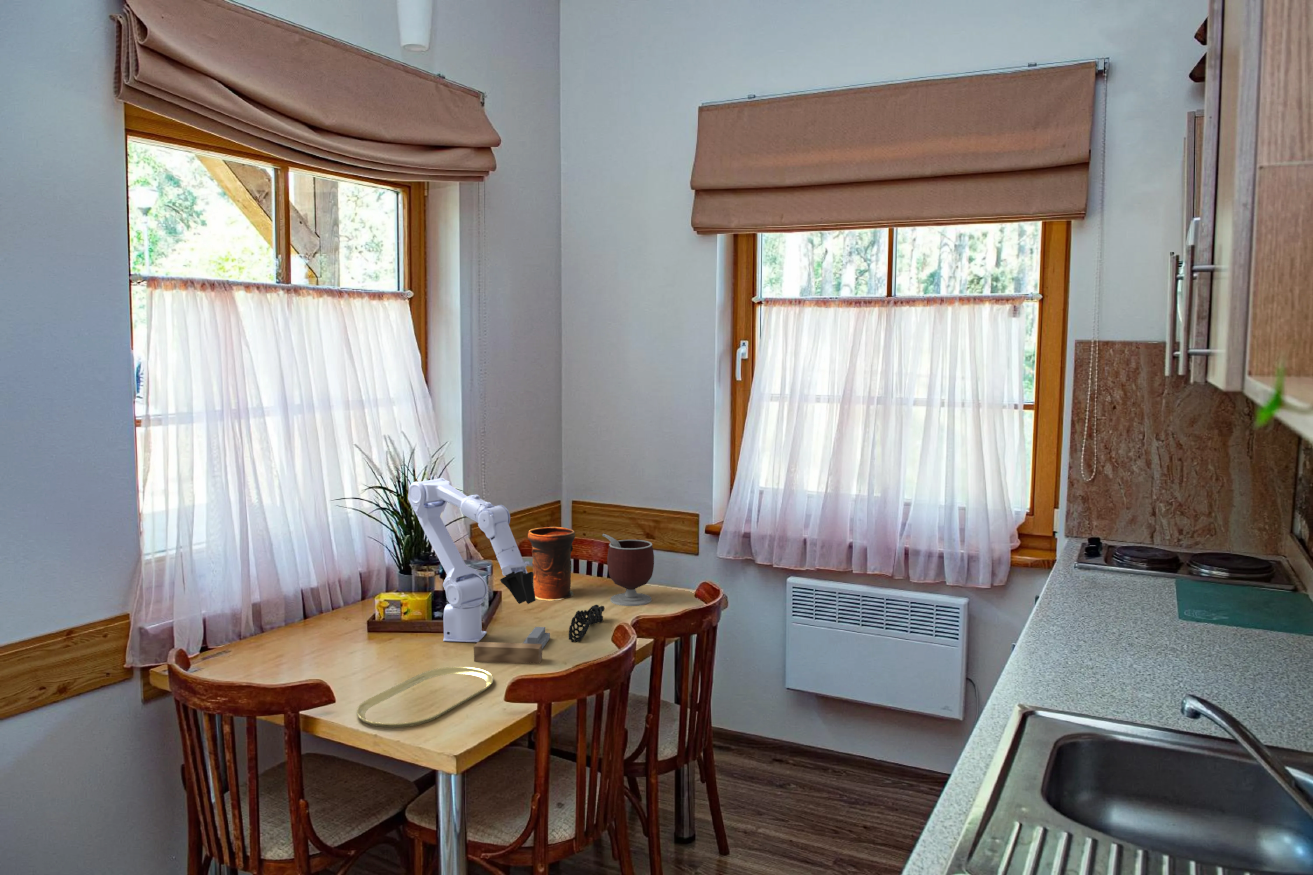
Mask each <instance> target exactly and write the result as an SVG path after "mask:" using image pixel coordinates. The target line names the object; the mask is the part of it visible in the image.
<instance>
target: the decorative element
mask: <svg viewBox="0 0 1313 875" xmlns="http://www.w3.org/2000/svg"><path fill="white" fill-rule="evenodd" d="M604 611H605V606H604V605H599V604H594V605H591V607H590V608H589V609H584V610H577V611H576V612H575V614H574V616H573V617H572V619H571V620H570V621H571V622H570V625H569V628H568V640H570V643H580V642H581V641H582V639H583V638H584V637H585V636H586V634H587V632H588V631H589V629H590V626H591V625H595V624H598V623H603V622H604V616H603V612H604ZM575 625H576V626H575ZM580 628H582V629H581V630H580ZM576 632H577V633H576Z"/></svg>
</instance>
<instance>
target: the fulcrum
mask: <svg viewBox="0 0 1313 875" xmlns="http://www.w3.org/2000/svg"><path fill="white" fill-rule="evenodd" d="M550 639H551V633H550V632H546V627H545V626H535V627H534V628H533V629H532V631H531V632H530V633H529V634H528V636H527V637H526V638H525V639H524V641H523V642H522V643H526V644H542V650H543V649H544V647H545V646H546V645H547V643H548V642H549V641H550Z"/></svg>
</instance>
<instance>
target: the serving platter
mask: <svg viewBox="0 0 1313 875" xmlns="http://www.w3.org/2000/svg"><path fill="white" fill-rule="evenodd" d="M448 675H470V676H475V677H478V678H481V679H483V681H485V687H483V688H481V689H479V690H478V691H476V692H474V693H473V694H470V695H469V696H467V697H465V698H463V699H462V700H460V701H458V702H456V703H455V704H453V705H451V706H449V707H447V708H445V709H444V710H442V711H440V712H439V713H436V714H434V715H432V716H429V717H426V718H423V719H419V720H415V721H406V722H398V723H396V722H395V723H389V722H388V723H386V722H384V723H383V722H375V721H371V720H368V719H367V718H366V716H365V715H366V713H367V712H368V710H370V709H371V708H373V707H374V706H376V705H379V704H380V703H382V702H384V701H386V700H389V699H390V698H392V697H394V696H397V695H398V694H400V693H402V692H404V691H407V690H409V689H410V688H412V687H414V686H416V685H417V684H420V683H422V682H424V681H427V680H429V679H432V678H435V677H441V676H448ZM493 683H494V677H493V674H492V673H490V672H489V671H487V670H485V669H481V668H478V667H471V666H449V667H441V668H436V669H431V670H428V671H424V672H422V673H419V674H417V675H414V676H413V677H410V678H409V679H407V680H405V681H403V682H401V683H398V684H397V685H394V686H392V687H390V688H388V689H386V690H385V691H383V692H380V693H378V694H376V695H374V696H372V697H369V698H367V699H366V700H364V701H362V703H360V704H359V705H358V707H357V708H356V716H357V717H358V718H359V720H361V722H364V723H365V724H367V725H370V726H372V727H379V728H386V729H391V728H392V729H394V728H395V729H396V728H408V727H413V726H414V727H415V726H418V725H422V724H425V723H429V722H431V721H433V720H436V719H437V718H438V717H441V716H443V715H445V714H446V713H449V711H451V710H453V709H455V708H457V707H458V706H460V705H462V704H464V703H465V702H468V701H469V700H471V699H472V698H474V697H475V698H476V696H478V695H480V694H481V693H483V692H485V691H486V690H488V689H489V688H490V687H491V685H493Z"/></svg>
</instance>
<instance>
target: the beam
mask: <svg viewBox="0 0 1313 875" xmlns="http://www.w3.org/2000/svg"><path fill="white" fill-rule="evenodd" d="M542 659H543V649H542V644H526V643H523V642H521V643H520V642H494V641H493V642H492V641H491V642H489V641H479V642H476V644H474V645H473V661H474V662H480V663H481V662H482V663H483V662H485V663H507V664H508V663H511V664H539V665H540V663H541V661H542Z"/></svg>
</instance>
